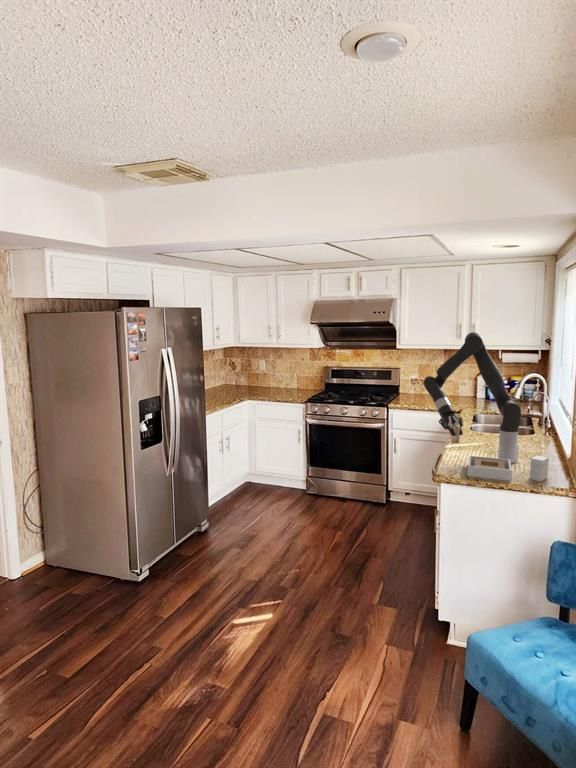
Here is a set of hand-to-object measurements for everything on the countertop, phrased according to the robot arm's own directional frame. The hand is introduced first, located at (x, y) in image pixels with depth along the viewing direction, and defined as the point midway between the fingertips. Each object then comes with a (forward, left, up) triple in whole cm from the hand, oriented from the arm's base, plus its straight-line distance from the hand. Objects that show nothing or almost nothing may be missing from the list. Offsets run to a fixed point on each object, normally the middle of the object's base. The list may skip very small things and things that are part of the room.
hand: (457, 434), depth 269 cm
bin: (-10, +13, -18) cm, 24 cm away
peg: (0, -2, -5) cm, 5 cm away
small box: (-27, +28, -18) cm, 43 cm away
